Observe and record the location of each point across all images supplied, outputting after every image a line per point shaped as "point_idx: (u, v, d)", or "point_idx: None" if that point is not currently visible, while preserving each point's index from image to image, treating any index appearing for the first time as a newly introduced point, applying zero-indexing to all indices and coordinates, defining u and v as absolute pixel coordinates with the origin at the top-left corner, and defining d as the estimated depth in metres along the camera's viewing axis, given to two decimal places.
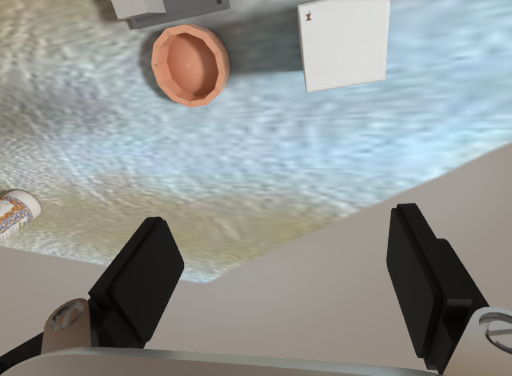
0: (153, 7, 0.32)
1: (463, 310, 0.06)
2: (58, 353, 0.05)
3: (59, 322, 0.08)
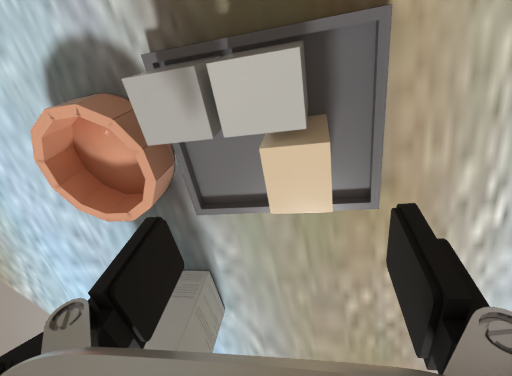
0: None
1: (463, 310, 0.06)
2: (58, 353, 0.05)
3: (59, 322, 0.08)
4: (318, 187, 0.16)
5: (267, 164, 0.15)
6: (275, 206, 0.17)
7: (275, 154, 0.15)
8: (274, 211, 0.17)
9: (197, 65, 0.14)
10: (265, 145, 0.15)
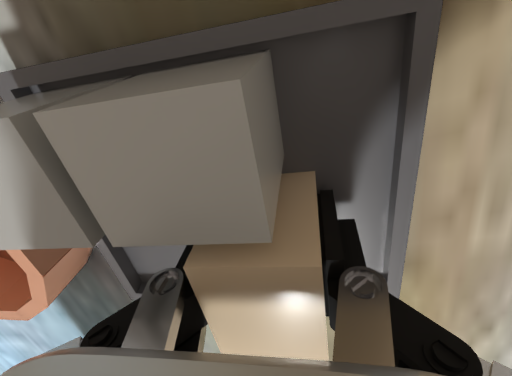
0: None
1: (340, 270, 0.08)
2: (58, 353, 0.05)
3: (157, 285, 0.08)
4: (301, 328, 0.08)
5: (203, 290, 0.08)
6: (227, 345, 0.10)
7: (215, 277, 0.08)
8: (226, 350, 0.10)
9: (28, 112, 0.06)
10: (197, 256, 0.08)
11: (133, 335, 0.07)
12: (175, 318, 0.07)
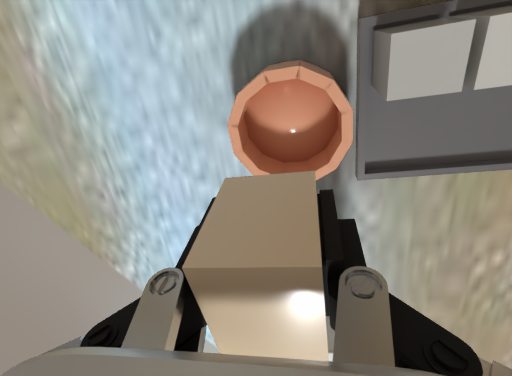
0: None
1: (340, 269, 0.08)
2: (58, 353, 0.05)
3: (157, 285, 0.08)
4: (301, 329, 0.08)
5: (202, 291, 0.08)
6: (227, 346, 0.09)
7: (214, 278, 0.08)
8: (226, 351, 0.10)
9: None
10: (196, 257, 0.08)
11: (133, 335, 0.07)
12: (175, 318, 0.07)
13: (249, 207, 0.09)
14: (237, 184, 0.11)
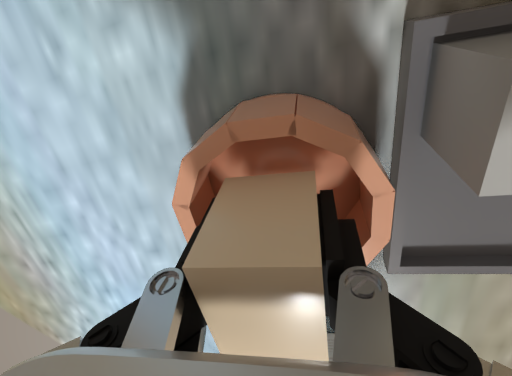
0: None
1: (340, 269, 0.08)
2: (58, 353, 0.05)
3: (157, 285, 0.08)
4: (300, 328, 0.08)
5: (202, 291, 0.08)
6: (226, 346, 0.09)
7: (214, 277, 0.08)
8: (226, 351, 0.10)
9: None
10: (196, 256, 0.08)
11: (133, 335, 0.07)
12: (175, 318, 0.07)
13: (249, 207, 0.09)
14: (237, 184, 0.11)
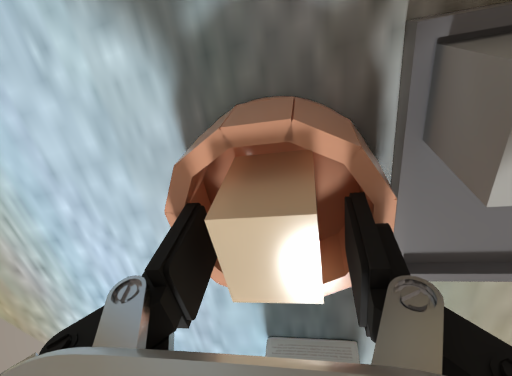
0: None
1: (385, 279, 0.07)
2: (58, 353, 0.05)
3: (119, 295, 0.08)
4: (301, 273, 0.10)
5: (220, 241, 0.10)
6: (238, 294, 0.11)
7: (230, 228, 0.09)
8: (238, 299, 0.11)
9: None
10: (215, 212, 0.10)
11: (100, 345, 0.07)
12: None
13: (257, 177, 0.11)
14: (245, 161, 0.13)
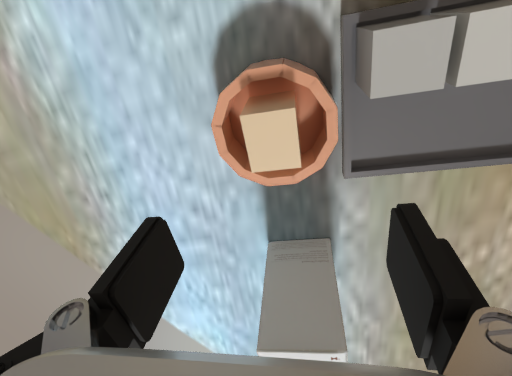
0: None
1: (463, 310, 0.06)
2: (58, 353, 0.05)
3: (59, 322, 0.08)
4: (288, 146, 0.19)
5: (246, 129, 0.19)
6: (255, 165, 0.21)
7: (252, 120, 0.19)
8: (254, 170, 0.21)
9: (451, 16, 0.15)
10: (244, 113, 0.19)
11: None
12: None
13: (264, 101, 0.21)
14: (256, 97, 0.22)
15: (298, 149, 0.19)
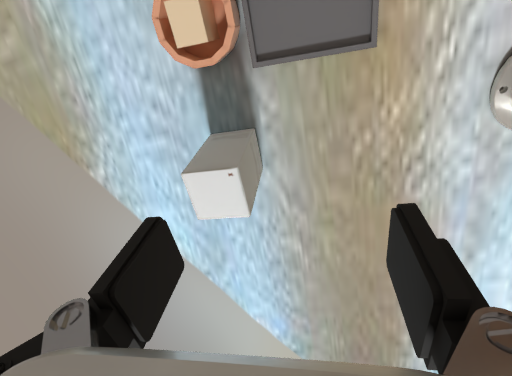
0: None
1: (463, 310, 0.06)
2: (58, 353, 0.05)
3: (59, 322, 0.08)
4: (197, 24, 0.30)
5: (169, 12, 0.29)
6: (178, 42, 0.31)
7: (172, 4, 0.29)
8: (178, 46, 0.31)
9: None
10: (167, 1, 0.29)
11: None
12: None
13: None
14: None
15: (203, 26, 0.30)
